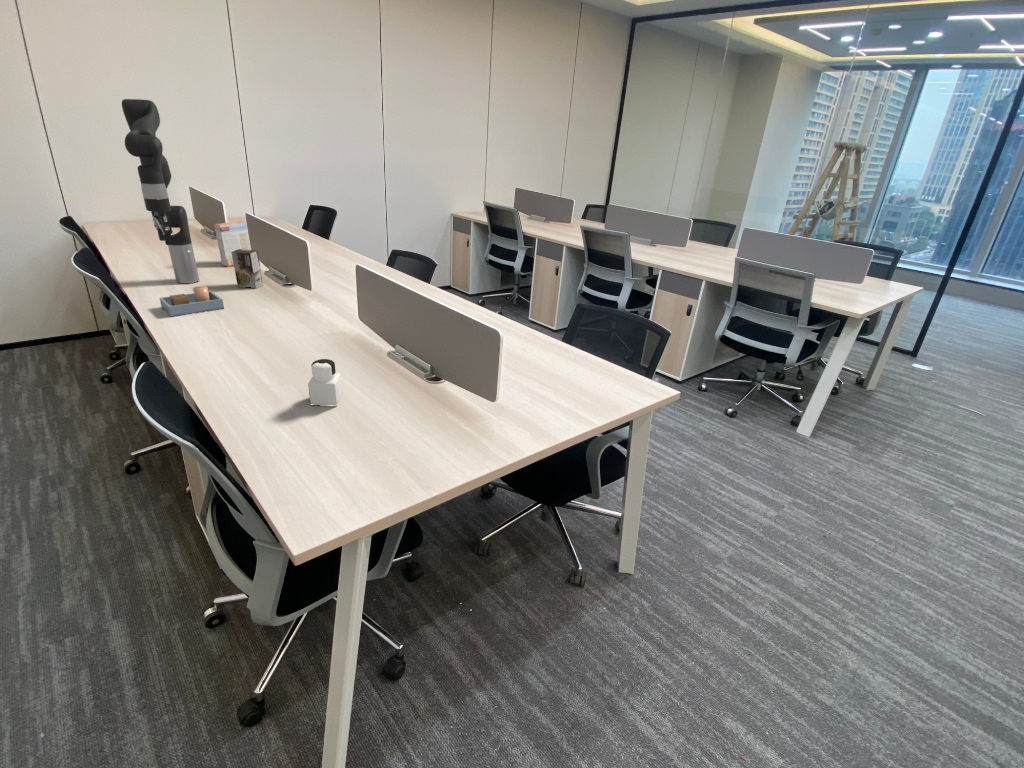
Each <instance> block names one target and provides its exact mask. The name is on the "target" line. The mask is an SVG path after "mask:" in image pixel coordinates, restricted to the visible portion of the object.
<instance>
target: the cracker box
mask: <svg viewBox="0 0 1024 768" xmlns="http://www.w3.org/2000/svg"><path fill="white" fill-rule="evenodd" d="M213 225H214V230H215V234H216V236H215V237H216V240H217V244H218V245H217V246H218V250H219V255H220V261H221V265H222V266H225V267H228V268H231V267H234V264H233V258H232V253H231V252H233V251H235V250H238V249H245V250H252V247H251V242H250V236H249V229H248V224H247V222H243V221H234V222H221V223H215V224H213Z"/></svg>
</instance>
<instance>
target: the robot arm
mask: <svg viewBox="0 0 1024 768" xmlns="http://www.w3.org/2000/svg"><path fill="white" fill-rule="evenodd" d="M121 108H122V112H123V115H124V117H125V120H126V123H127V126H128V128H129V130H130V131H129V132H128V133H127V134H125V135H126V136H125V138H124V147H125V149H126V151H127V152H128V153H129V154H130V155H131V156H133V157H135V158H139V162H140V165H138V166H137V174H138V176H139V177H138V178H139V181H140V187H141V188H140V189H141V193H142V197H143V201H144V206H145V210H146V211H147V212H150V213H151V215H152V216H151V217H152V221H153V224H154V225H153V226H154V228H155V230H156V231H157V234H158V238H159V240H160V242H164V243H165V245H166V246H167V247H168V252H169V255H170V260H171V266H172V269H173V273H174V278H175V281H176V283H177V284H182V283H189V284H195V283H198V282H200V275H199V271H198V267H197V266H198V265H197V261H196V258H195V253H194V248H193V242H192V238H191V231H190V227H189V219H188V215H187V210H186V208H184V206H182V205H171V202H170V199H169V194H168V193H169V192H168V190H167V189H168V187H169V185H170V183H171V180H172V172H171V170H170V165H169V163H168V160H167V158H166V157H165V156H164V154H163V151H164V149H163V148H164V147H163V143H162V141H161V139H160V138H158V136H156V133H157V131H158V130H159V127H160V125H161V117H160V114H159V109H158V107H157V105H156V103H155V102H153V101H152V100H149V99H140V98H135V99H134V98H124V99H122V101H121ZM178 228H179V231H178V232H176V233H174V234H173V232H174V231H173V229H178ZM197 281H198V282H197ZM194 282H195V283H194Z"/></svg>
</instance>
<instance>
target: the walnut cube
mask: <svg viewBox="0 0 1024 768" xmlns="http://www.w3.org/2000/svg"><path fill="white" fill-rule="evenodd" d="M169 297H170V299H171V303H172V306H175V305H182V304H189V299H188V296H186V295H185V293H180V294H179V293H178V294H172V295H169Z"/></svg>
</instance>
